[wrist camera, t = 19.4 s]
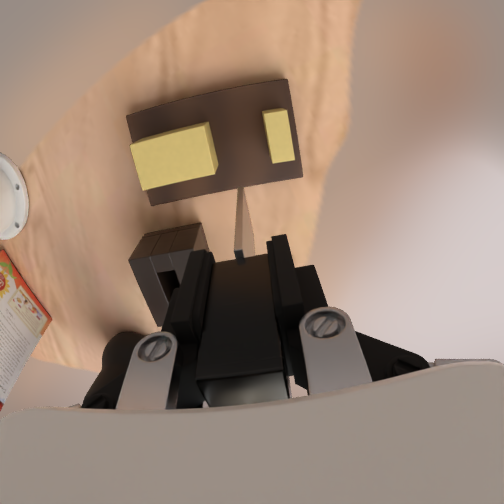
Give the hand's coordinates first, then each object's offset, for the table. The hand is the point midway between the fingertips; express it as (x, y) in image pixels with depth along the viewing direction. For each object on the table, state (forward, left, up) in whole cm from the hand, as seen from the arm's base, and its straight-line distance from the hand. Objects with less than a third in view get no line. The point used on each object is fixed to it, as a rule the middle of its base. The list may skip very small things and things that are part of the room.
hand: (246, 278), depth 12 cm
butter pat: (+3, +2, -21) cm, 21 cm away
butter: (-6, +2, -21) cm, 22 cm away
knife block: (-10, -11, -22) cm, 27 cm away
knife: (0, 0, -7) cm, 7 cm away
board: (-3, +2, -22) cm, 23 cm away
